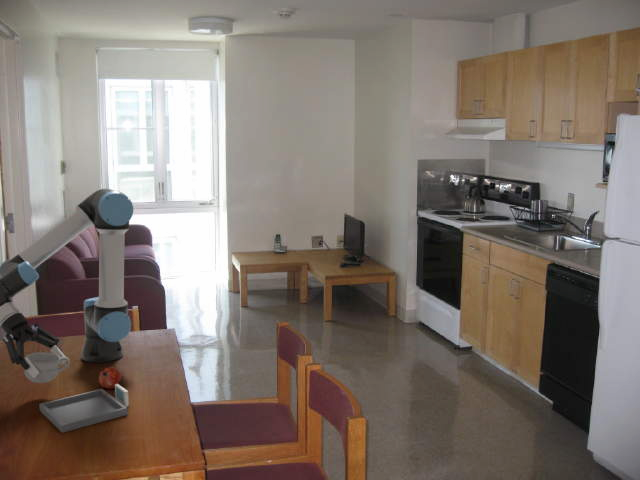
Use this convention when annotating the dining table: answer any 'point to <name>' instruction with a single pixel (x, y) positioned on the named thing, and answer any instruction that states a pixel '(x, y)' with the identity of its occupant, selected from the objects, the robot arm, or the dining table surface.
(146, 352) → the dining table surface
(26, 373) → the teacup
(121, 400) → the tag
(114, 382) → the pomegranate
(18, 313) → the robot arm
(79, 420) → the tray
